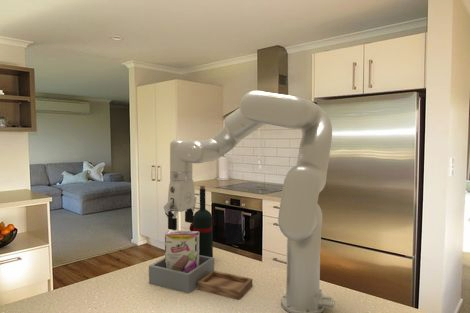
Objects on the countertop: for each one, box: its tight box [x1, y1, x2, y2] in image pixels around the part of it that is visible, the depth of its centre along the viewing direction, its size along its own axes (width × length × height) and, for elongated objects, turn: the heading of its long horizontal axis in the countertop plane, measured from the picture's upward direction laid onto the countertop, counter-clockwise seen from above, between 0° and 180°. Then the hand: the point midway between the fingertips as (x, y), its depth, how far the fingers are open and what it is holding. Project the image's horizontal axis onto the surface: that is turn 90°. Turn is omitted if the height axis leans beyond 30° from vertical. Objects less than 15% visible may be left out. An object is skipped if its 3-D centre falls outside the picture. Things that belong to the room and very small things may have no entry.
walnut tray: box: [196, 270, 253, 301], centre depth 110 cm, size 15×10×2 cm, turn 64°
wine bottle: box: [189, 185, 214, 258], centre depth 131 cm, size 8×10×30 cm
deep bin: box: [148, 255, 215, 294], centre depth 116 cm, size 16×16×6 cm
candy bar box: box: [164, 229, 199, 273], centre depth 116 cm, size 11×5×16 cm, turn 84°
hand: (181, 225), depth 116 cm, fingers open, 9 cm apart
